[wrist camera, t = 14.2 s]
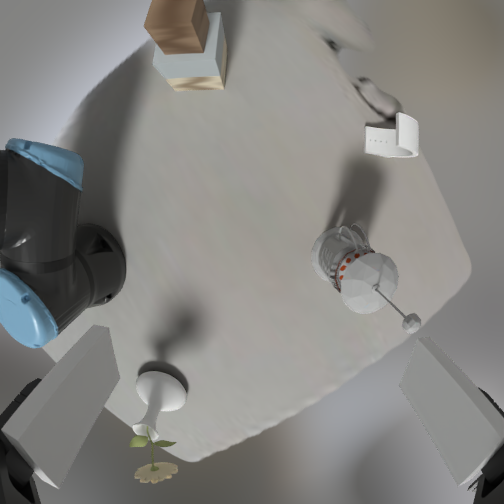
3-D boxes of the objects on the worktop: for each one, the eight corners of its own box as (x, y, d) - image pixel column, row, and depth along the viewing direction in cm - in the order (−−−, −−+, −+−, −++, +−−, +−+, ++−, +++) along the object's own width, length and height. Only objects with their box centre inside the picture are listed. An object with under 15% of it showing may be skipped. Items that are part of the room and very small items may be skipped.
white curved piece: (364, 126, 40) (398, 111, 28) (394, 134, 40) (434, 123, 28) (363, 152, 41) (398, 145, 29) (394, 159, 41) (433, 155, 29)
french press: (315, 289, 46) (368, 384, 22) (304, 222, 44) (363, 272, 19) (368, 275, 46) (449, 351, 22) (360, 210, 43) (458, 244, 19)
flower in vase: (142, 399, 54) (107, 482, 29) (134, 362, 51) (86, 450, 26) (197, 408, 54) (178, 500, 29) (194, 371, 51) (167, 473, 27)
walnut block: (164, 54, 26) (143, 26, 19) (172, 25, 25) (154, -7, 17) (203, 53, 26) (191, 21, 19) (209, 23, 25) (199, -11, 17)
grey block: (165, 79, 32) (152, 64, 27) (172, 36, 30) (161, 17, 25) (220, 76, 32) (215, 59, 27) (224, 32, 31) (220, 12, 25)
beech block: (175, 91, 38) (165, 79, 32) (180, 51, 36) (171, 36, 30) (224, 89, 38) (220, 76, 32) (227, 49, 36) (224, 32, 31)
